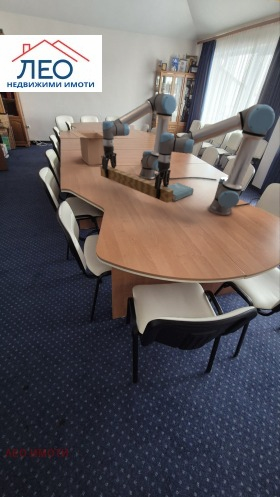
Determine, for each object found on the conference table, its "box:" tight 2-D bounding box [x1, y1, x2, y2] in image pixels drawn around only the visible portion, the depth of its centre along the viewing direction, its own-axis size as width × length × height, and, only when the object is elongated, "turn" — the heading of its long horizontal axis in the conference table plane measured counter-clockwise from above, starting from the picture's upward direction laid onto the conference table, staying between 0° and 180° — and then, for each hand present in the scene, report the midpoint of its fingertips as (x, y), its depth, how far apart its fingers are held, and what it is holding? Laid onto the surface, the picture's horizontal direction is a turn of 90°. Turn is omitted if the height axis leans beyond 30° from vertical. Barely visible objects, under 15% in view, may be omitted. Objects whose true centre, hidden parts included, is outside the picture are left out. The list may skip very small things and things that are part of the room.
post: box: [99, 165, 173, 204], centre depth 159 cm, size 67×5×8 cm, turn 48°
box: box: [70, 129, 104, 166], centre depth 229 cm, size 44×36×27 cm
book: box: [167, 182, 194, 202], centre depth 175 cm, size 23×16×5 cm
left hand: (109, 176), depth 175 cm, fingers closed on post, 5 cm apart
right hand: (160, 197), depth 148 cm, fingers closed on post, 5 cm apart
